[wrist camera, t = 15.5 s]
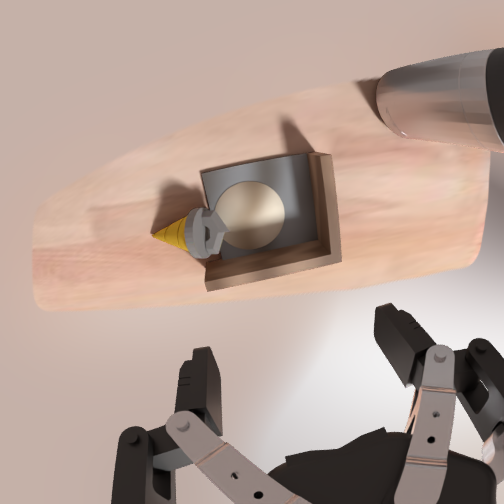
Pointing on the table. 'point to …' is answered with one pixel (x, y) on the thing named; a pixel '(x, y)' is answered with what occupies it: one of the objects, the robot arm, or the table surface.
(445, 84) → the robot arm
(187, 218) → the drill bit
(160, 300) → the table surface
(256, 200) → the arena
